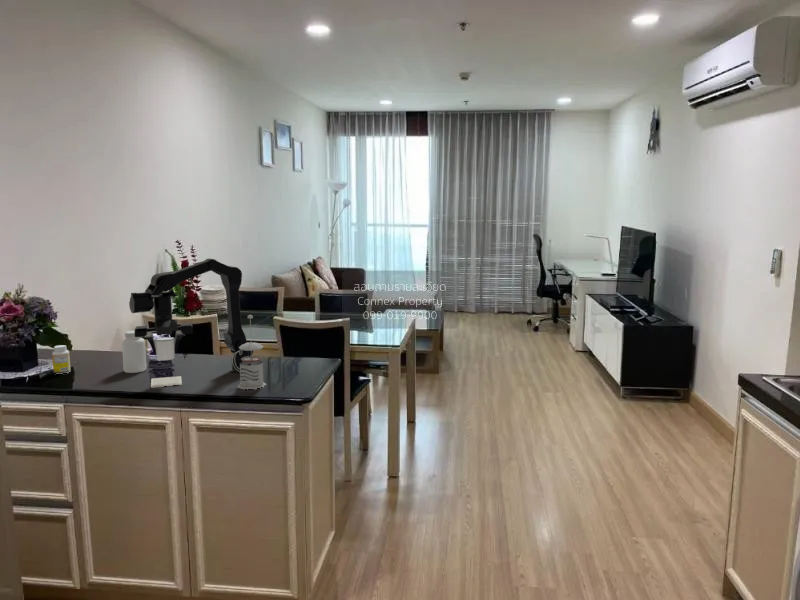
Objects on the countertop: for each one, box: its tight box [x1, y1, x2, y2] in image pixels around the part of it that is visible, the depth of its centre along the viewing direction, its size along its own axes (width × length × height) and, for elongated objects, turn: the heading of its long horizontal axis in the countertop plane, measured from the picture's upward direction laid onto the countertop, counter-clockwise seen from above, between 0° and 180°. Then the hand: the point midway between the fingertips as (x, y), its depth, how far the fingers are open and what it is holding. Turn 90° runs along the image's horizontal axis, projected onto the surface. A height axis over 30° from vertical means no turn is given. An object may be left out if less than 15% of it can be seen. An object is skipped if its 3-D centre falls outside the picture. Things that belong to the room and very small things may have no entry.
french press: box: [231, 314, 267, 391], centre depth 209 cm, size 10×12×25 cm
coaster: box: [150, 375, 183, 389], centre depth 213 cm, size 10×10×1 cm
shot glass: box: [154, 336, 176, 361], centre depth 211 cm, size 7×7×7 cm
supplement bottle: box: [51, 344, 71, 375], centre depth 223 cm, size 6×6×10 cm
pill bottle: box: [121, 330, 147, 374], centre depth 227 cm, size 8×8×15 cm
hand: (165, 354), depth 212 cm, fingers closed on shot glass, 6 cm apart
